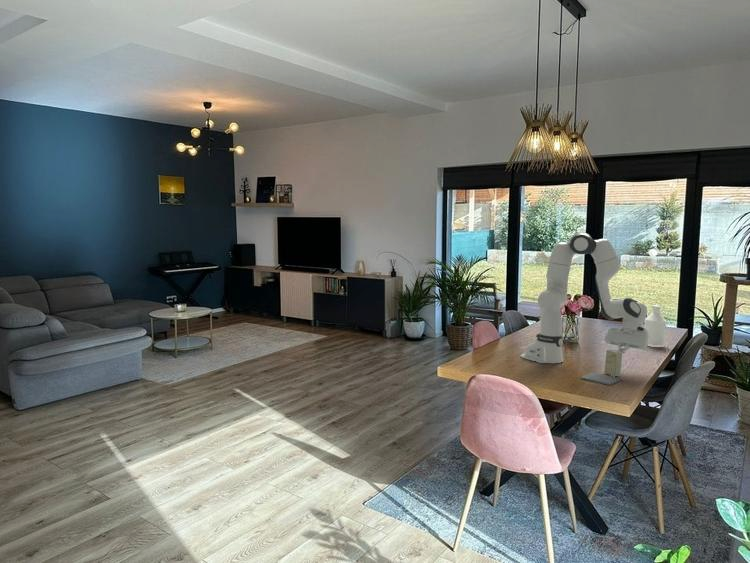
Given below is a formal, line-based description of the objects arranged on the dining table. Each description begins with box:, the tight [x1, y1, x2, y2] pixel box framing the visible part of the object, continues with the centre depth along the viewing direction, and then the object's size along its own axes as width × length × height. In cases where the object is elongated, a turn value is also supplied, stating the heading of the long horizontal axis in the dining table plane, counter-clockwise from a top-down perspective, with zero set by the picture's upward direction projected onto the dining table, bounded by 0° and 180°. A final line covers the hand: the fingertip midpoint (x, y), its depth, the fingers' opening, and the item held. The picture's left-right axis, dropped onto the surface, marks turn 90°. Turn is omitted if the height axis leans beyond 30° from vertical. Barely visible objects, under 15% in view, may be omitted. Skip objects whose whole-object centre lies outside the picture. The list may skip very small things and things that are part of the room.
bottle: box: [643, 304, 667, 345], centre depth 332 cm, size 12×12×25 cm
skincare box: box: [604, 348, 623, 377], centre depth 264 cm, size 6×4×12 cm
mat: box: [580, 371, 624, 386], centre depth 256 cm, size 14×14×1 cm
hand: (621, 352), depth 268 cm, fingers closed
